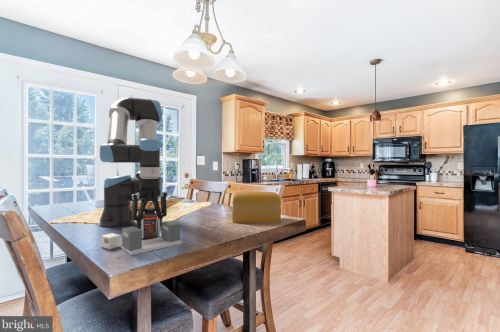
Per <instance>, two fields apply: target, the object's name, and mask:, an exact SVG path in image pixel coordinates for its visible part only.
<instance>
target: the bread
mask: <svg viewBox="0 0 500 332" xmlns="http://www.w3.org/2000/svg"><path fill="white" fill-rule="evenodd" d="M281 201H282V200H281V197H280V196H279V194H278V193H277V192H273V191H238V192H235V193H234V194H232V214H231V215H232V217H231V218H232V219H231V221H232V223H233V224H257V223H256V222H280V223H281V219H282V217H281V216H282V214H281V210H282V209H281V206H282V205H281V203H282V202H281Z"/></svg>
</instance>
